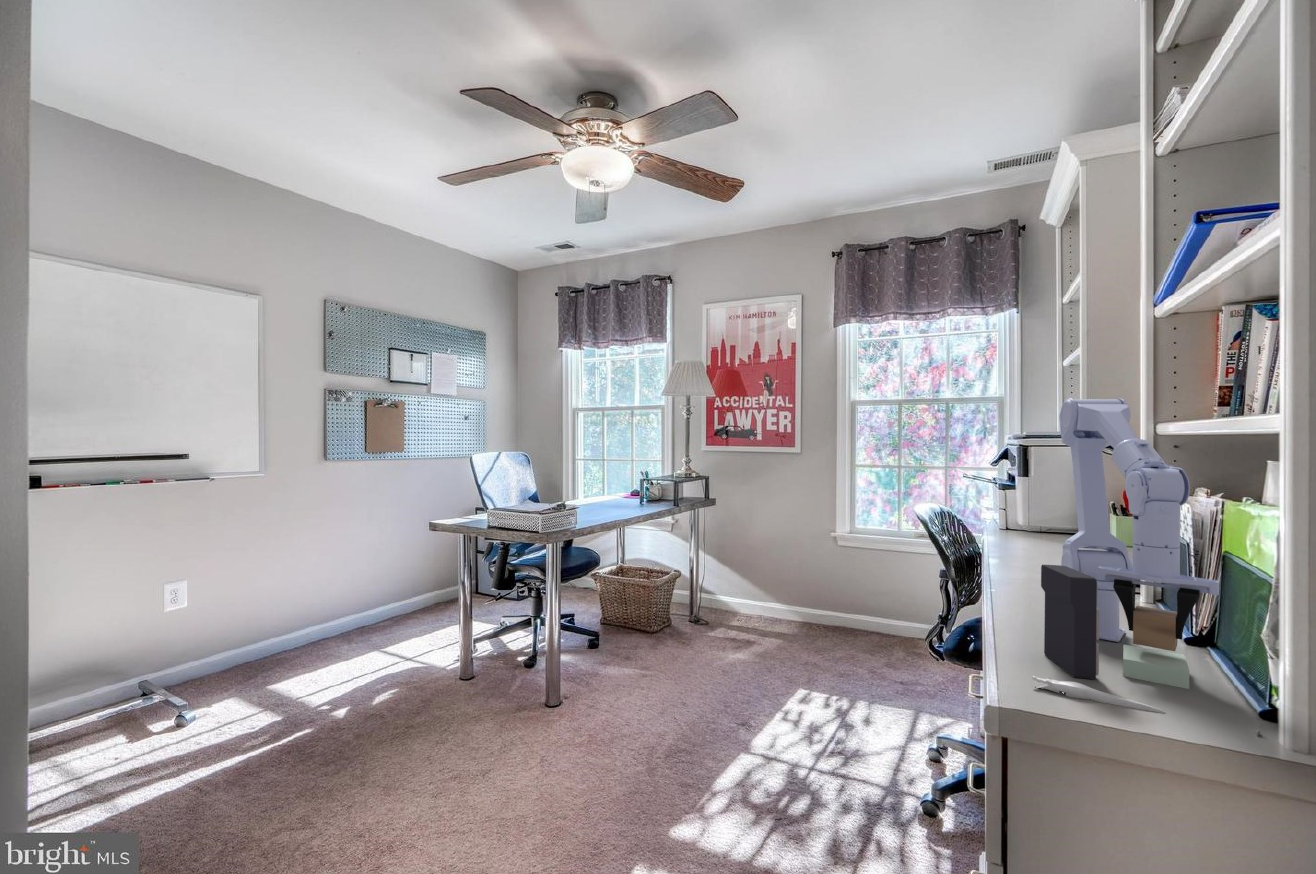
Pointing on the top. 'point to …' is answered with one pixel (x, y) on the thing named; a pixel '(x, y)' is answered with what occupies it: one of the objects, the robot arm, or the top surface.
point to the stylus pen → (1090, 694)
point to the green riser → (1155, 666)
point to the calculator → (1071, 620)
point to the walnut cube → (1155, 628)
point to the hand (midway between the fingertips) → (1155, 633)
